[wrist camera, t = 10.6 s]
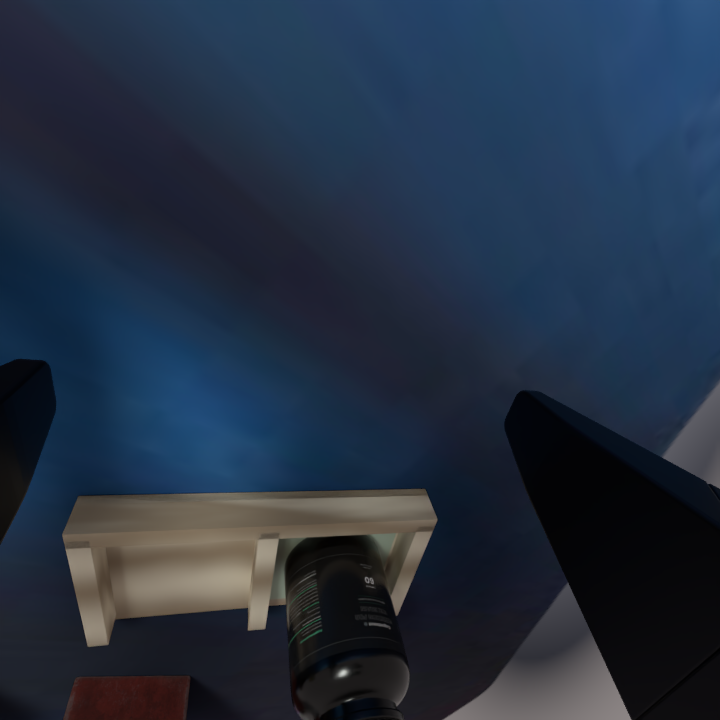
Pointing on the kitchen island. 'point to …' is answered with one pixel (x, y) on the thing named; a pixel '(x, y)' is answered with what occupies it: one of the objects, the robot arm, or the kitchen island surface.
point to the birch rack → (225, 548)
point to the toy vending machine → (129, 698)
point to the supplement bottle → (343, 632)
